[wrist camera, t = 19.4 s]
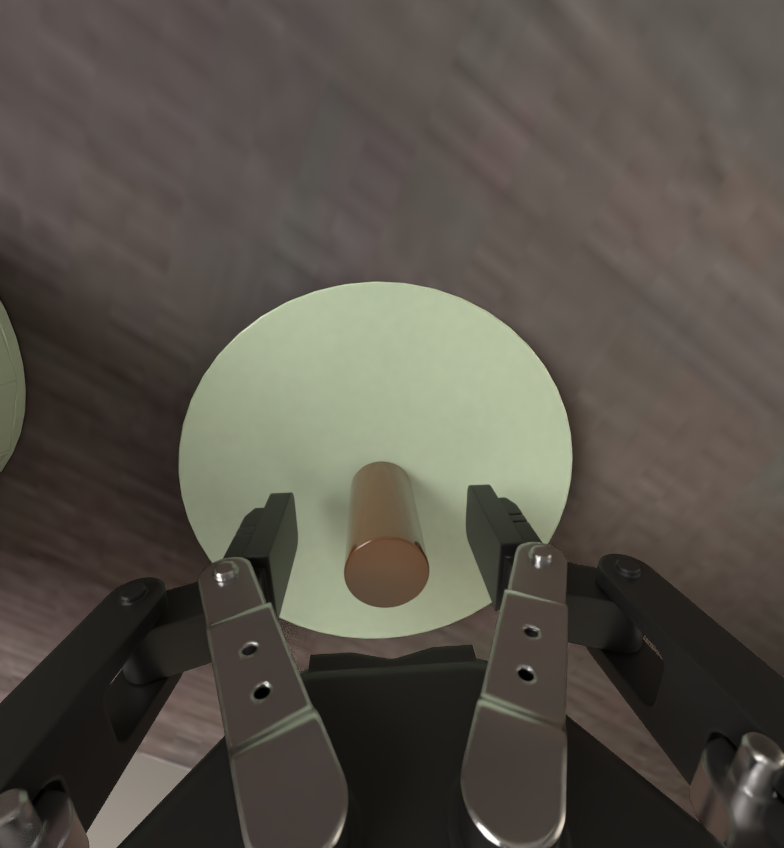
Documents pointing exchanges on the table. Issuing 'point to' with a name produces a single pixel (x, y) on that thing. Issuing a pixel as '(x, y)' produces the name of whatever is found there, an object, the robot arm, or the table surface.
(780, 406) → the table surface
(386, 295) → the lid
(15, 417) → the crock
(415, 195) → the table surface
